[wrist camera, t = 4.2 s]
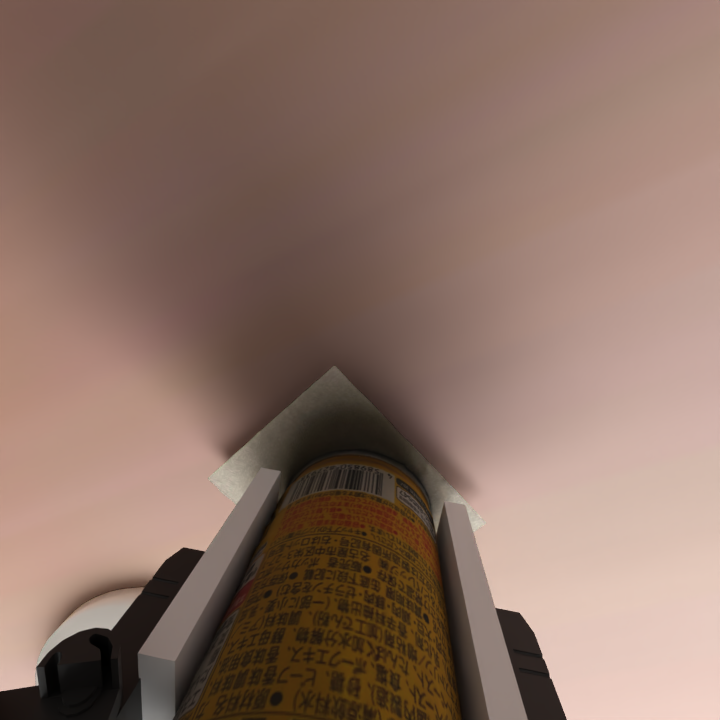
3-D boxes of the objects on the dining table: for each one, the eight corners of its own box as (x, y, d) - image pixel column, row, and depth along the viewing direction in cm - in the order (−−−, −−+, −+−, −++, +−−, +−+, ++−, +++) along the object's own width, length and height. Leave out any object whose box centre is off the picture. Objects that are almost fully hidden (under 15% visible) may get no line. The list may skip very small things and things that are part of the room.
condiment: (350, 606, 16) (223, 1589, 4) (209, 475, 14) (-520, 1305, 3) (485, 519, 14) (953, 1824, 2) (336, 362, 13) (-243, 1324, 1)
